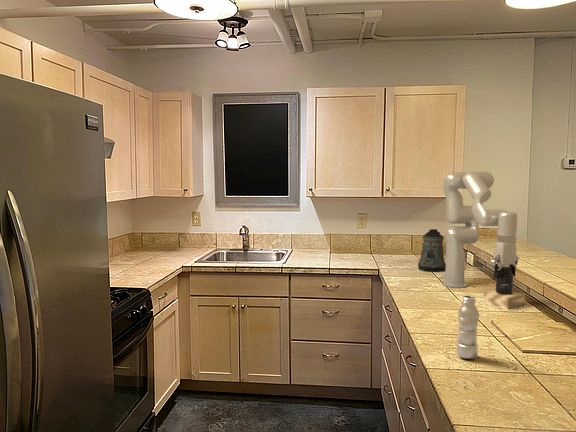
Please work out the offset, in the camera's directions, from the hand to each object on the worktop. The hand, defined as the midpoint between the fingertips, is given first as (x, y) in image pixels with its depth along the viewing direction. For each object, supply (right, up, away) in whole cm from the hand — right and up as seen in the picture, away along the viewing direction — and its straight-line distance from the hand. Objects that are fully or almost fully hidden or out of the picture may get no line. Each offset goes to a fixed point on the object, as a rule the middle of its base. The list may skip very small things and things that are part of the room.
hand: (504, 277), depth 204 cm
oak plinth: (0, -12, +1) cm, 12 cm away
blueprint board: (0, -13, +1) cm, 13 cm away
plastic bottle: (-39, -19, -56) cm, 71 cm away
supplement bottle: (0, -7, 0) cm, 7 cm away
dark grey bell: (-7, -6, +81) cm, 82 cm away
